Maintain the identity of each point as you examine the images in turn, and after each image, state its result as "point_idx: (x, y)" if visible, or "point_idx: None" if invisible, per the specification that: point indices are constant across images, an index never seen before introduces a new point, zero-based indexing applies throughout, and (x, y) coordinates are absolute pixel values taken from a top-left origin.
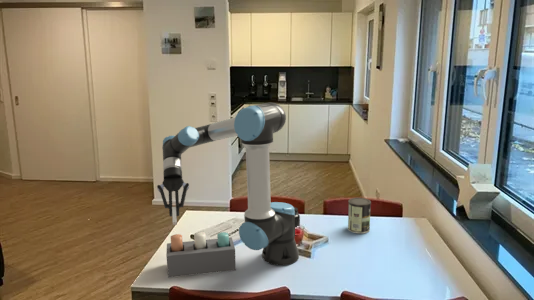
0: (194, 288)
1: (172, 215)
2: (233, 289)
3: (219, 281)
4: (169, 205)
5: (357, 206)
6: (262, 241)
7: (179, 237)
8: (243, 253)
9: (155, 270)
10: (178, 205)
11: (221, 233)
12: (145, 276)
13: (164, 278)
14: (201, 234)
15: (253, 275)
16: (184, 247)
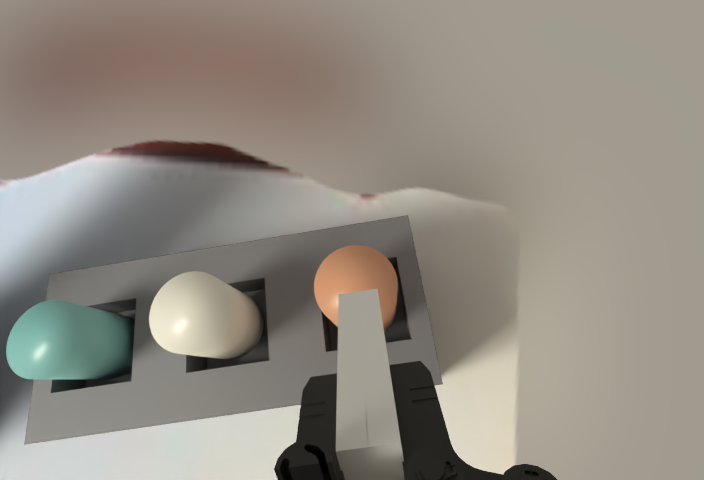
0: (292, 177)
1: (383, 337)
2: (161, 168)
3: (202, 218)
4: (453, 470)
5: None
6: None
7: (330, 268)
8: (59, 470)
9: (476, 322)
10: (287, 464)
11: (48, 357)
12: (506, 270)
13: (417, 250)
14: (177, 308)
15: (74, 254)
16: (319, 313)
